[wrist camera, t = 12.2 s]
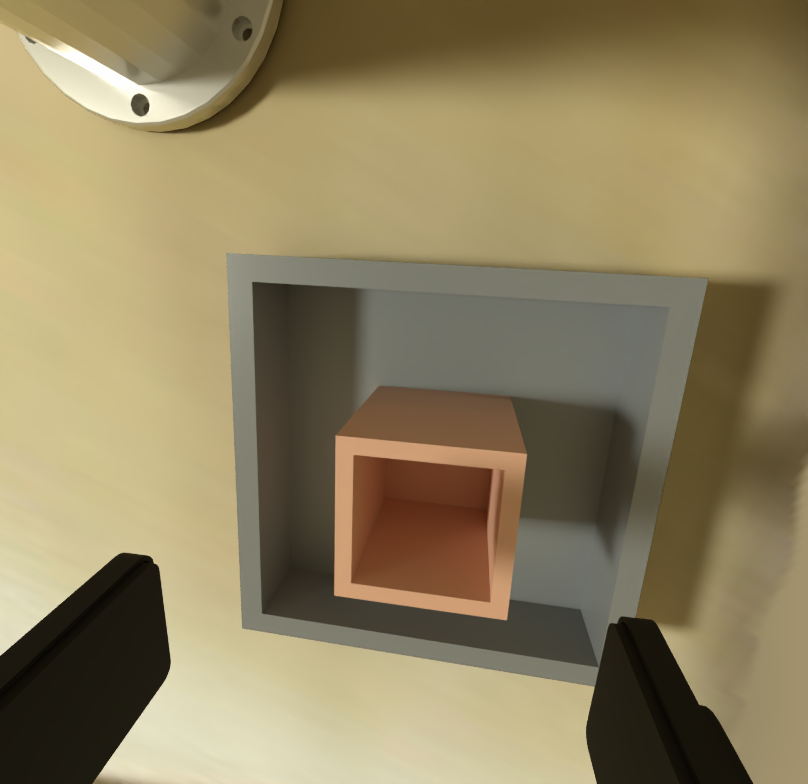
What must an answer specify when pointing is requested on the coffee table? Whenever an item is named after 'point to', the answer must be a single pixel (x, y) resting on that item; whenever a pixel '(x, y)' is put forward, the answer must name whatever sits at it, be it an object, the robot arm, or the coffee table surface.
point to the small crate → (429, 500)
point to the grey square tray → (472, 373)
